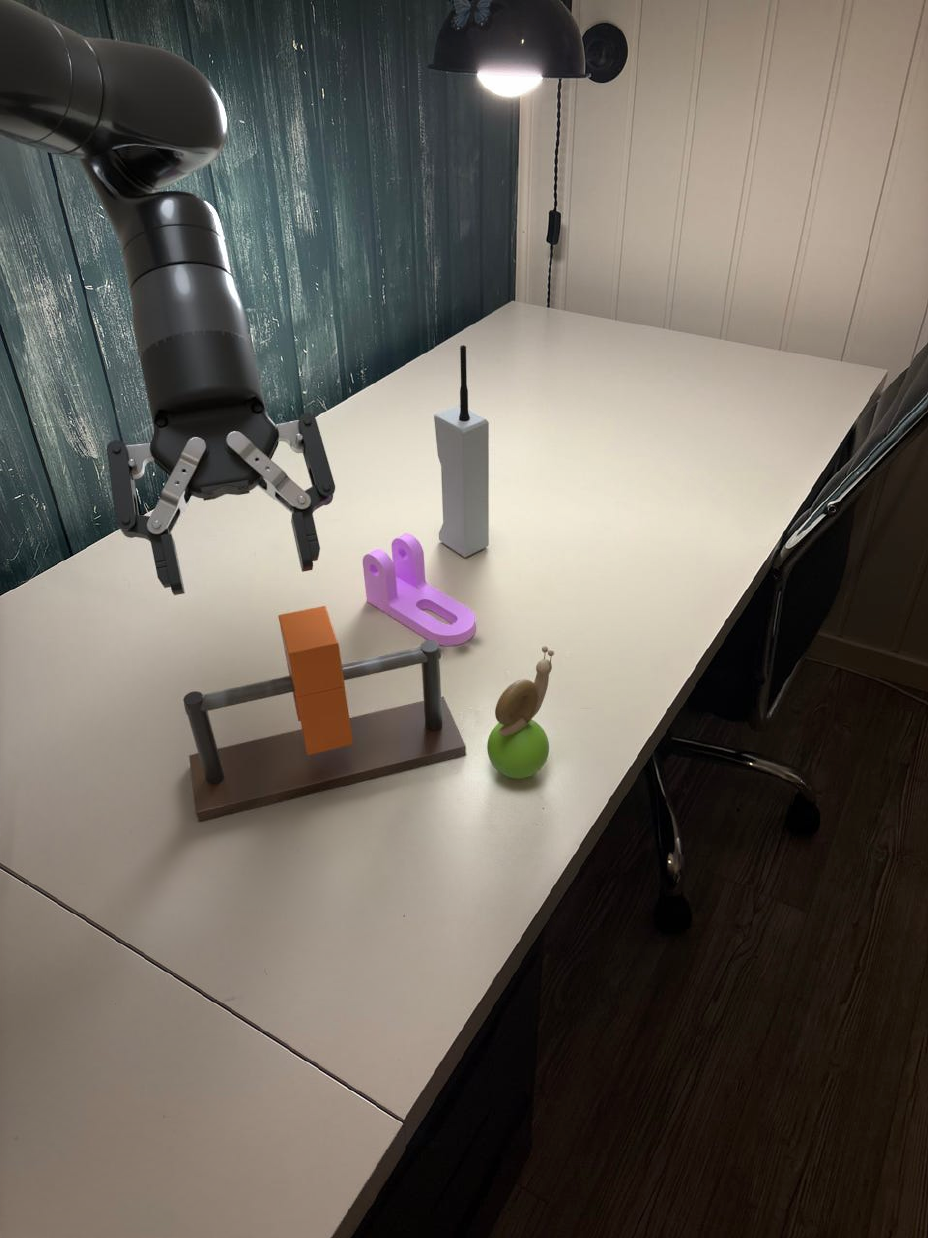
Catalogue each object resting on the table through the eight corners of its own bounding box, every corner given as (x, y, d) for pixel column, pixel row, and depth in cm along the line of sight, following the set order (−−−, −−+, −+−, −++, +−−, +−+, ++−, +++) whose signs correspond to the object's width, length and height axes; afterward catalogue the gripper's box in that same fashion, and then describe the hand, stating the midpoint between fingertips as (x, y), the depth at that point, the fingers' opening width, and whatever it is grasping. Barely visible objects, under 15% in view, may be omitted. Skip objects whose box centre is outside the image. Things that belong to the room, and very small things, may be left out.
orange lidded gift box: (307, 755, 78) (288, 653, 72) (296, 714, 82) (277, 614, 76) (353, 744, 79) (338, 643, 72) (340, 704, 83) (325, 605, 77)
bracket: (366, 601, 102) (361, 549, 98) (403, 579, 105) (399, 528, 101) (449, 653, 95) (447, 599, 90) (486, 628, 98) (485, 575, 94)
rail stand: (198, 822, 78) (170, 732, 71) (191, 764, 83) (165, 675, 77) (466, 755, 84) (464, 666, 77) (444, 704, 89) (440, 617, 82)
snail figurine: (567, 762, 83) (575, 662, 75) (519, 801, 79) (521, 700, 72) (523, 731, 86) (526, 632, 78) (474, 768, 82) (473, 668, 75)
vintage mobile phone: (462, 530, 113) (457, 332, 97) (488, 547, 110) (489, 345, 94) (438, 541, 111) (430, 341, 96) (465, 559, 108) (461, 355, 92)
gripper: (75, 340, 57) (125, 591, 56) (302, 313, 61) (354, 549, 59) (97, 387, 65) (141, 610, 63) (298, 360, 68) (345, 572, 66)
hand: (244, 580), depth 61 cm, fingers open, 8 cm apart
